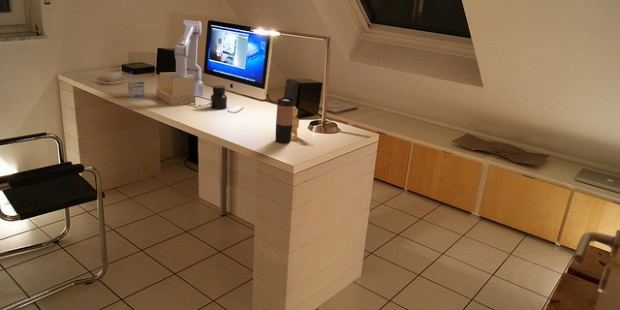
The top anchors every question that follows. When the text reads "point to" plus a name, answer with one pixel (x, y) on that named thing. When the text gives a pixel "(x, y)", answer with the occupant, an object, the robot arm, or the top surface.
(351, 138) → the top surface
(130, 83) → the medicine box
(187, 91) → the flap
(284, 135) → the travel mug
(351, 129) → the top surface
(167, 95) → the carton
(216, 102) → the ink bottle
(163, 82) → the flap
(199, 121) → the top surface
